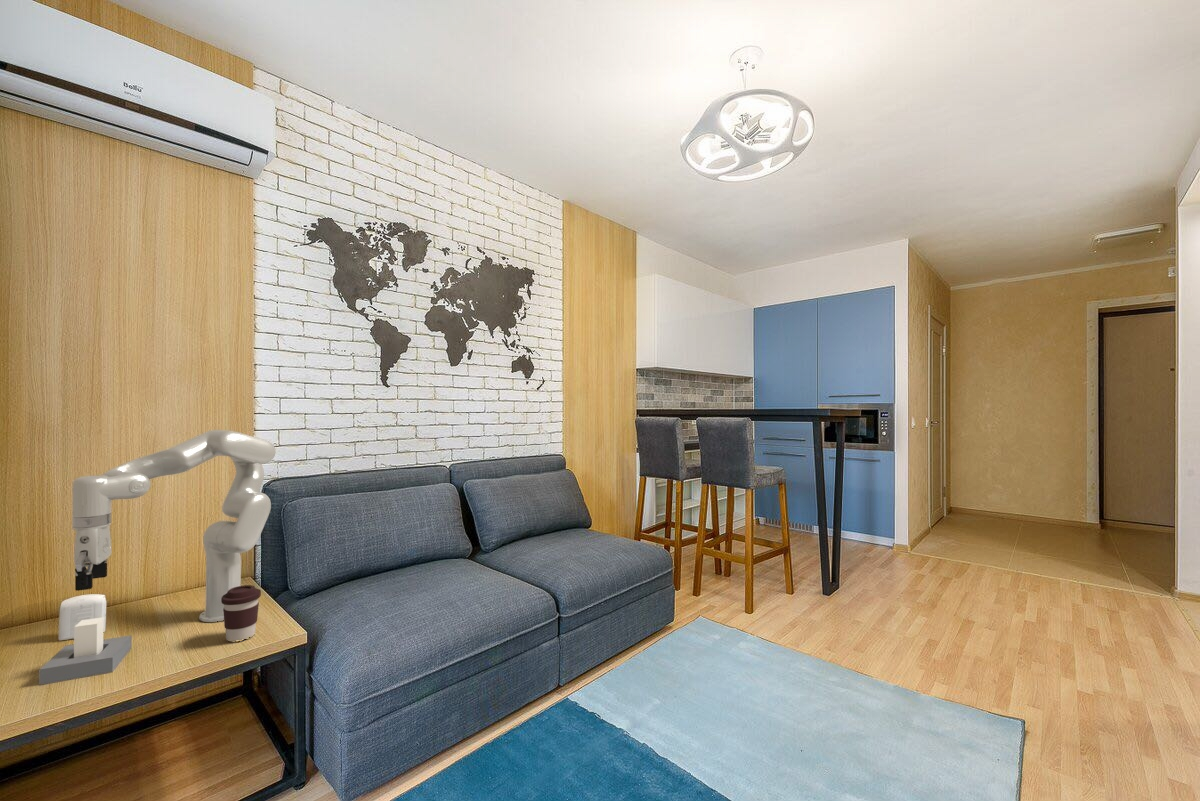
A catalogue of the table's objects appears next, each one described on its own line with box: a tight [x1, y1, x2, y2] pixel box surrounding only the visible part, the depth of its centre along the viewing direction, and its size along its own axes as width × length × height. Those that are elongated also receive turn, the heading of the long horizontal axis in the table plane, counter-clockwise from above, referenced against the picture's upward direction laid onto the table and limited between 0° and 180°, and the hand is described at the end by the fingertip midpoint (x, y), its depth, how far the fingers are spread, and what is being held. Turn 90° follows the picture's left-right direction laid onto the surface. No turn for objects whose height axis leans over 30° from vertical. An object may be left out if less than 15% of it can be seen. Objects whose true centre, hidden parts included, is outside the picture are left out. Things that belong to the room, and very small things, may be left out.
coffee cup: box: [221, 584, 262, 642], centre depth 155 cm, size 10×10×15 cm
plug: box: [73, 617, 104, 658], centre depth 138 cm, size 4×4×12 cm
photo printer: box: [58, 593, 107, 641], centre depth 155 cm, size 10×4×12 cm, turn 123°
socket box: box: [38, 635, 133, 686], centre depth 138 cm, size 14×14×4 cm
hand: (91, 583), depth 138 cm, fingers open, 9 cm apart
